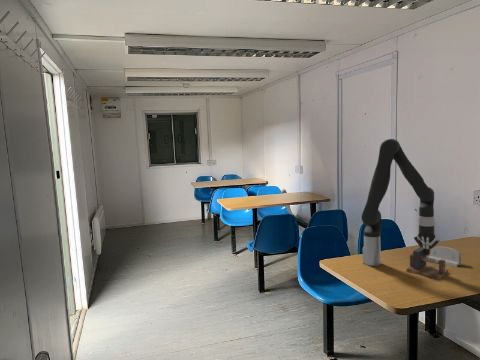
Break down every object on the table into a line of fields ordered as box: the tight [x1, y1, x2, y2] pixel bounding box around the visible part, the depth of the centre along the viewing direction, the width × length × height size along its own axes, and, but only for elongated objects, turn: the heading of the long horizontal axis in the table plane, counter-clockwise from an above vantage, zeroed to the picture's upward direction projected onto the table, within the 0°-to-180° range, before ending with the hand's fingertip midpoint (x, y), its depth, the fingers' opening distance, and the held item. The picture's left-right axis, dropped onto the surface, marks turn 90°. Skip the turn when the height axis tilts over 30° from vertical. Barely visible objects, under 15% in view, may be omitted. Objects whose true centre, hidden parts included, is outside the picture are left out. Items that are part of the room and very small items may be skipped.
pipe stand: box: [406, 253, 449, 280], centre depth 187 cm, size 17×12×8 cm
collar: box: [412, 246, 427, 270], centre depth 190 cm, size 3×10×10 cm, turn 131°
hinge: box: [428, 245, 462, 268], centre depth 200 cm, size 17×5×10 cm, turn 34°
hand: (426, 255), depth 187 cm, fingers closed
